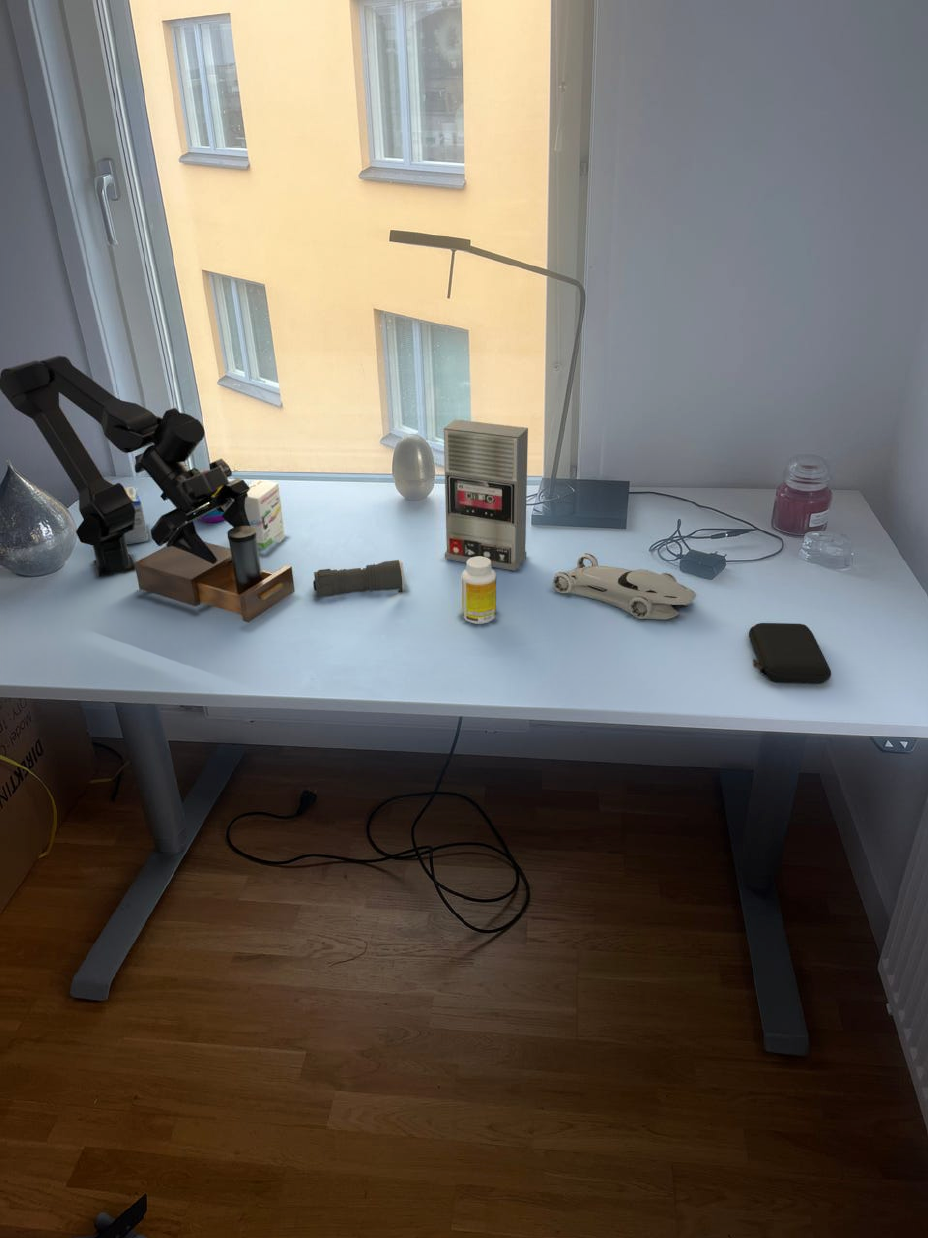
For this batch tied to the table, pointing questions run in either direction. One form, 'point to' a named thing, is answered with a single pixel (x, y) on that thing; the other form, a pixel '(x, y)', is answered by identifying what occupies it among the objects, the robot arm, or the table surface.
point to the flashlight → (360, 579)
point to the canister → (245, 557)
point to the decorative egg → (213, 512)
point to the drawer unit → (177, 572)
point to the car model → (626, 589)
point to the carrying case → (788, 653)
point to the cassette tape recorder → (486, 492)
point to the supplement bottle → (479, 591)
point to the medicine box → (136, 519)
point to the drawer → (250, 603)
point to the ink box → (265, 512)
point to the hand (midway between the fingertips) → (234, 551)
